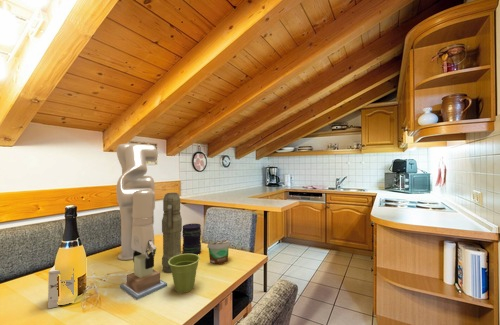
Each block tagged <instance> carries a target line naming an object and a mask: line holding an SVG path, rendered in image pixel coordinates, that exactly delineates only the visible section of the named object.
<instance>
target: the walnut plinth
mask: <svg viewBox="0 0 500 325" xmlns="http://www.w3.org/2000/svg"><path fill="white" fill-rule="evenodd" d="M160 280H161V272H159V271H157V270H156V269H154V268H153V273H152V274H150V275H147V276H145V277H142V278H139V277H138V276H136V275H134V272H132V273H131V272H130V273H128V274H126V282H127V286H128V287H130V288H131V289H133V290H134V291H136V292H137V293H139V292H141V291H143V290H145V289H148V288H150V287H152V286H155V285H157V284H159V283H160Z"/></svg>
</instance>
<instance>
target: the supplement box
mask: <svg viewBox="0 0 500 325" xmlns="http://www.w3.org/2000/svg"><path fill="white" fill-rule="evenodd" d="M73 271H74V268H73ZM58 274H61V273H60V271H59V270H55V264H54V265H53V267H51V269H50V270H49V271H48V282H47V283H48V284H47V285H48V288H47V289H48V290H47V291H48V292H47V296H48V297H47V309H53V308H57V307H59V306H58V304H57V302H58V290H57V288H58V287H57V286H58V285H57V283H58V281H57V277H58V276H57V275H58ZM72 275H73V277H71V280H65V281H66V284H65V285H66V286H67V288H68V289H70V290H71V292H72V294H73V295H74V282H75V280H74V273H73V274H72ZM60 281H61V283H63V282H64V283H65V281H62V280H60ZM63 286H64V285H63Z"/></svg>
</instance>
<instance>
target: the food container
mask: <svg viewBox="0 0 500 325" xmlns="http://www.w3.org/2000/svg"><path fill="white" fill-rule="evenodd" d="M230 245H231V242H230V238H227V237H226V239H224V240H219V241H216V242H214V243H209V242H207V246H206V248H207V249H208V257H209V264H210V265H215V266H216V265H224V264H225V263H226V264H227V262H228V260H229V259H228V258H229V249H230V248H229V246H230Z"/></svg>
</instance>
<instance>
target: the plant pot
mask: <svg viewBox="0 0 500 325" xmlns="http://www.w3.org/2000/svg"><path fill="white" fill-rule="evenodd" d="M200 260H201V257H200V255H196V254H183V253H182V254H180V255H177V256H174V257H172V258H170V259H169V261H168V264H169V265H170V268H171V271H172V273H171V276H172V280H173V288H174V290H175V292H178V293H181V294H182V293H183V294H185V293H189V292H190V291H192V290H193V289H194V288H195V283H196V276H197V269H198V264H199V261H200Z"/></svg>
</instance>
